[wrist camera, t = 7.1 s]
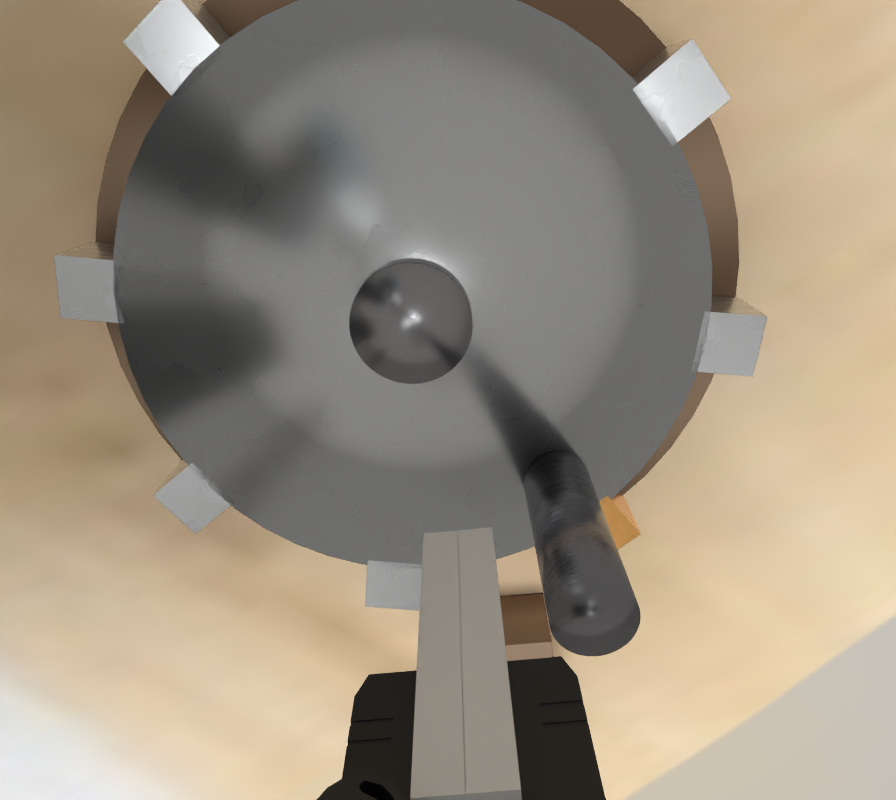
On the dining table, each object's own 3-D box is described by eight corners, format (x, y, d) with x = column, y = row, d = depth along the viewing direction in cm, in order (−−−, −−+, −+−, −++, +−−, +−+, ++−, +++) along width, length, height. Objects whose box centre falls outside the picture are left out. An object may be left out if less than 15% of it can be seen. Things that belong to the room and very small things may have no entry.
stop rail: (484, 598, 26) (488, 655, 23) (542, 593, 25) (553, 650, 23) (498, 731, 28) (503, 798, 25) (552, 727, 28) (562, 793, 25)
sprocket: (-42, 259, 20) (-333, 345, 13) (457, -270, 16) (460, -608, 8) (390, 661, 25) (363, 893, 18) (861, 336, 21) (1089, 461, 13)
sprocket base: (25, -22, 19) (7, -28, 18) (740, -111, 18) (752, -121, 17) (188, 573, 25) (180, 588, 25) (719, 528, 24) (728, 541, 24)
